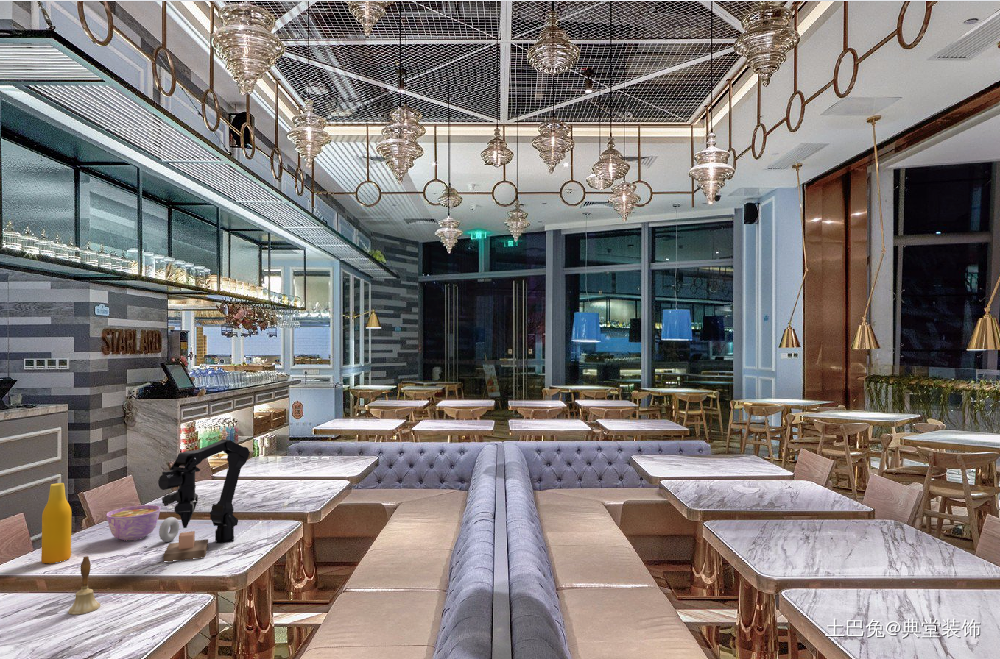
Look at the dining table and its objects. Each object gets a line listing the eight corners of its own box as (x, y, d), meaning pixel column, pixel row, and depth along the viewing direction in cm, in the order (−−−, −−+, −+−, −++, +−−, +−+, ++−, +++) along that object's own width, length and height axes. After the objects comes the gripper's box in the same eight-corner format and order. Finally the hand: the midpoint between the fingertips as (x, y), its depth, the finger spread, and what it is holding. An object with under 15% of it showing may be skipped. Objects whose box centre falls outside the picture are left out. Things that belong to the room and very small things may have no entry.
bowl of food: (96, 547, 244) (97, 518, 244) (117, 532, 263) (117, 506, 264) (150, 543, 248) (151, 515, 248) (167, 529, 267) (167, 503, 268)
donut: (164, 545, 245) (164, 520, 246) (156, 545, 246) (157, 520, 246) (181, 537, 255) (181, 514, 256) (173, 537, 256) (173, 513, 256)
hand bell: (78, 604, 189) (79, 553, 189) (106, 602, 189) (106, 552, 190) (61, 615, 180) (62, 562, 181) (90, 614, 181) (91, 561, 182)
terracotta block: (194, 543, 238) (194, 531, 238) (193, 547, 233) (193, 534, 233) (180, 545, 236) (180, 532, 236) (178, 549, 231) (178, 536, 231)
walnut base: (208, 546, 243) (208, 539, 243) (204, 557, 230) (204, 549, 230) (169, 551, 238) (169, 543, 238) (163, 562, 225) (163, 554, 225)
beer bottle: (36, 565, 223) (37, 487, 224) (47, 557, 232) (48, 482, 233) (65, 563, 226) (66, 485, 227) (75, 555, 235) (76, 480, 236)
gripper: (167, 481, 241) (167, 520, 240) (159, 491, 223) (159, 533, 223) (198, 479, 245) (198, 517, 244) (192, 488, 227) (192, 530, 227)
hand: (186, 524), depth 234 cm, fingers open, 9 cm apart
